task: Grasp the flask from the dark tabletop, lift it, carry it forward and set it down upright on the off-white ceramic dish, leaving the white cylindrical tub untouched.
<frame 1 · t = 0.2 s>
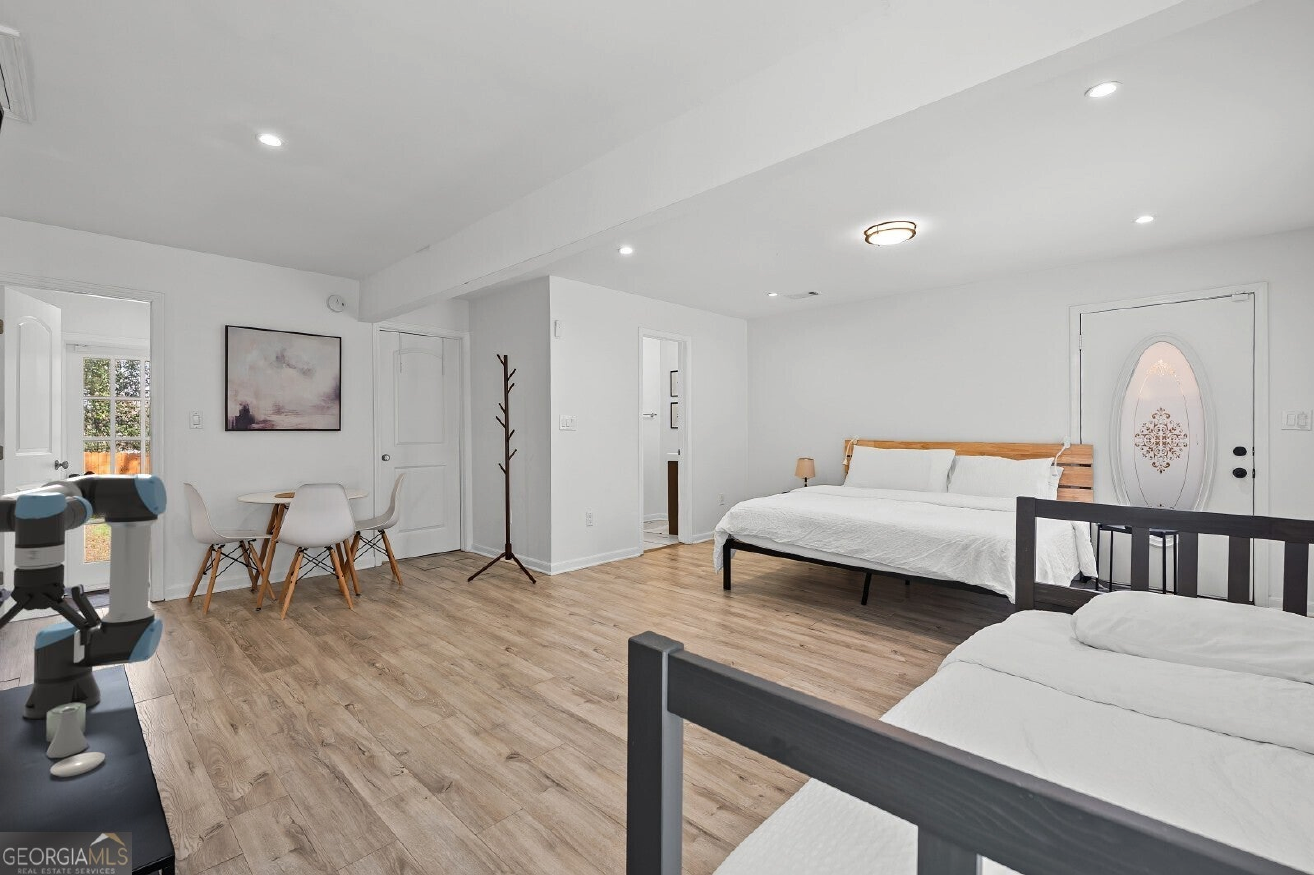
hand: (37, 664, 128), 27 cm above the table, fingers open, 13 cm apart
dish: (78, 767, 137), on the table
flask: (67, 752, 144), on the table
white cylindrical tub: (65, 735, 152), on the table
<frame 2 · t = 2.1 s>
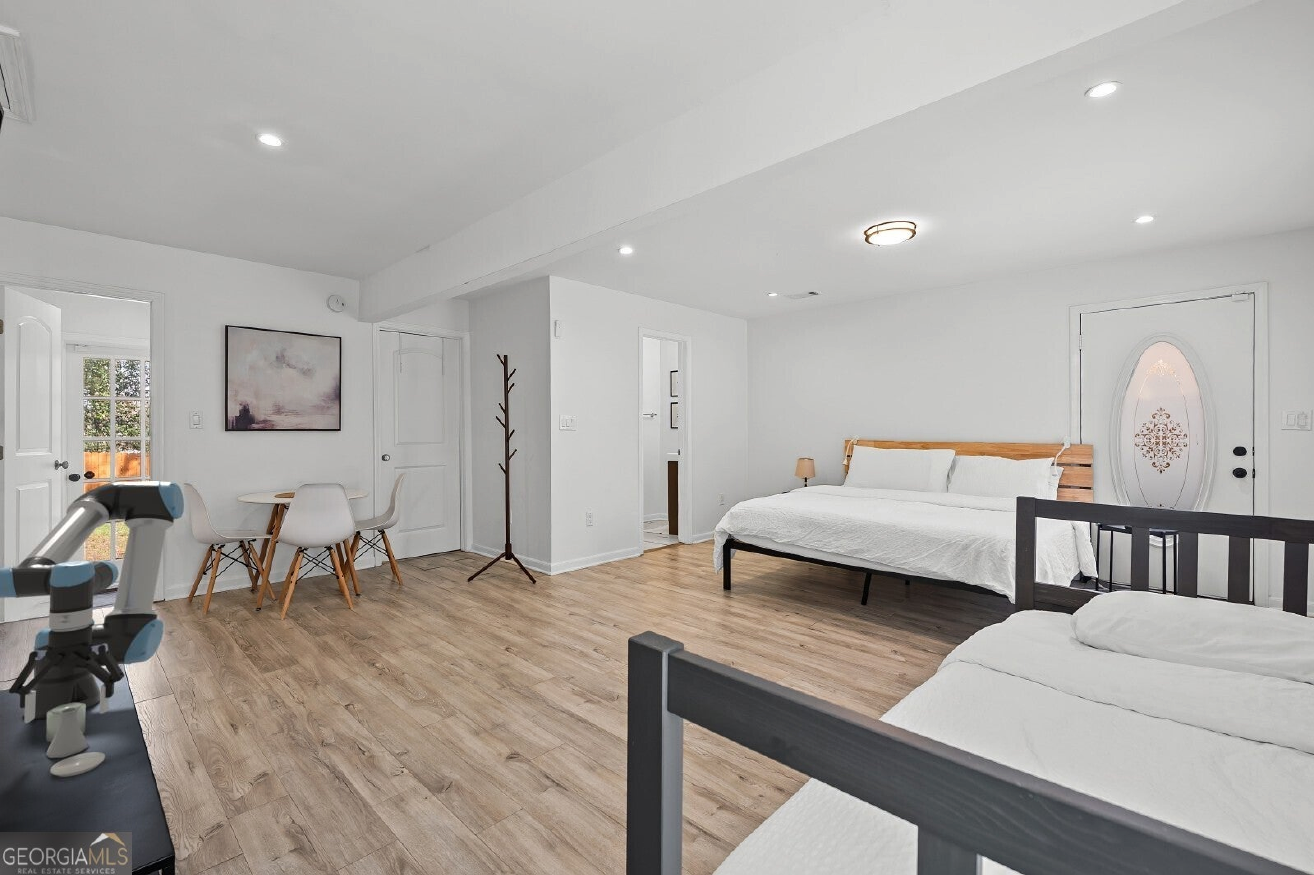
hand: (67, 716, 144), 9 cm above the table, fingers open, 13 cm apart
nothing on the table moved.
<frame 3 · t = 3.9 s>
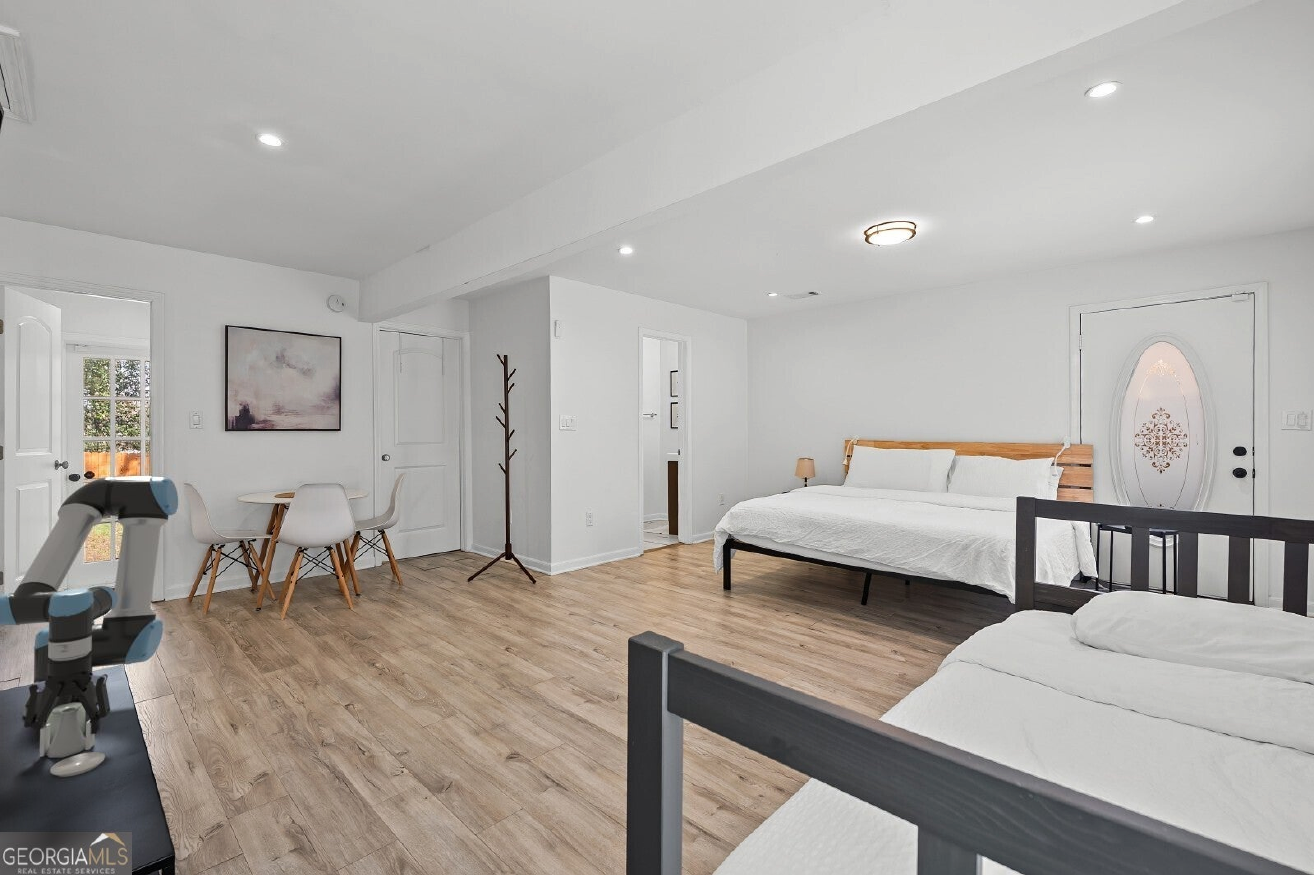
hand: (67, 750, 144), 0 cm above the table, fingers closed on flask, 8 cm apart
flask: (67, 752, 144), on the table, touching gripper
everything else where it was.
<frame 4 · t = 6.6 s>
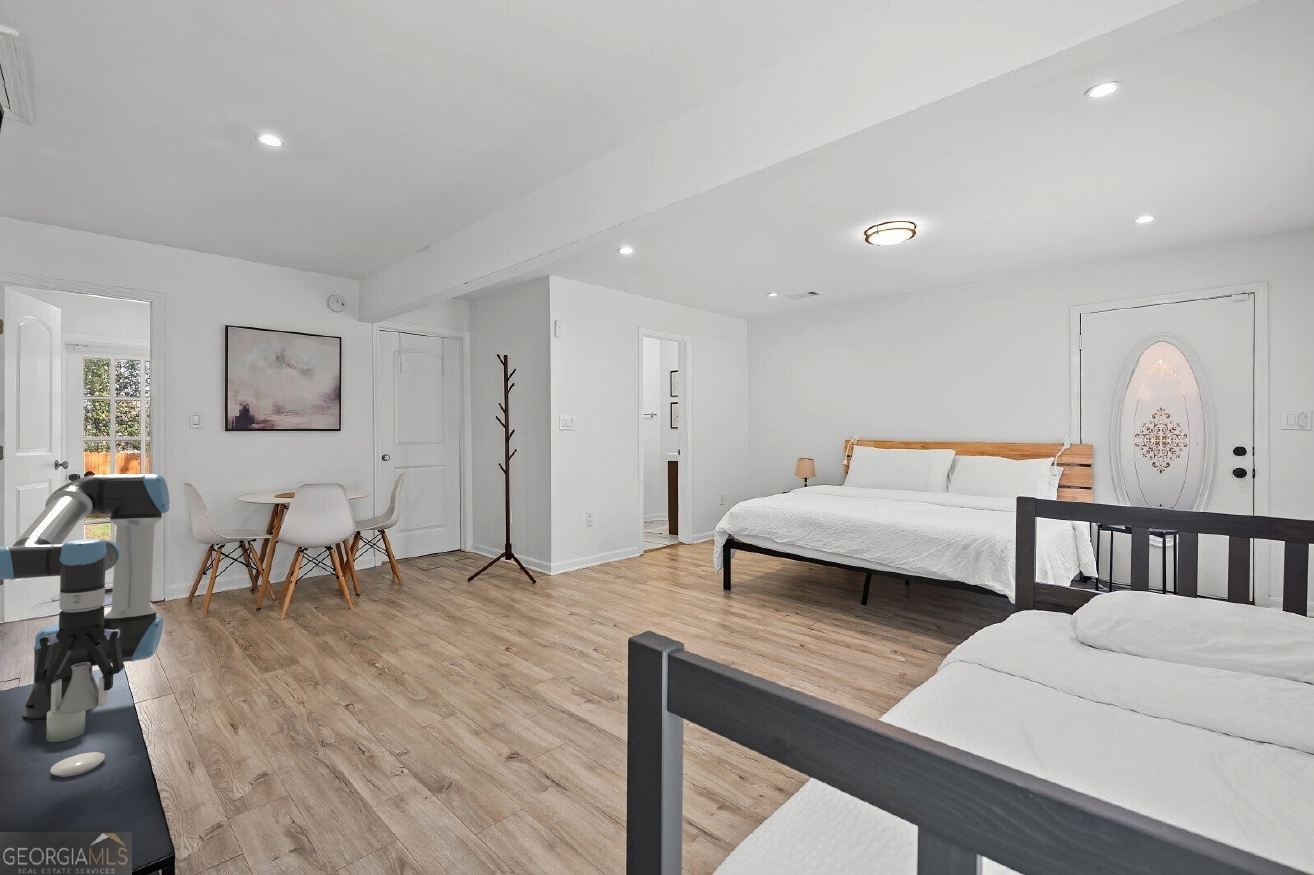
hand: (79, 707, 137), 14 cm above the table, fingers closed on flask, 7 cm apart
flask: (79, 709, 137), point 14 cm above the table, touching gripper
everything else where it was.
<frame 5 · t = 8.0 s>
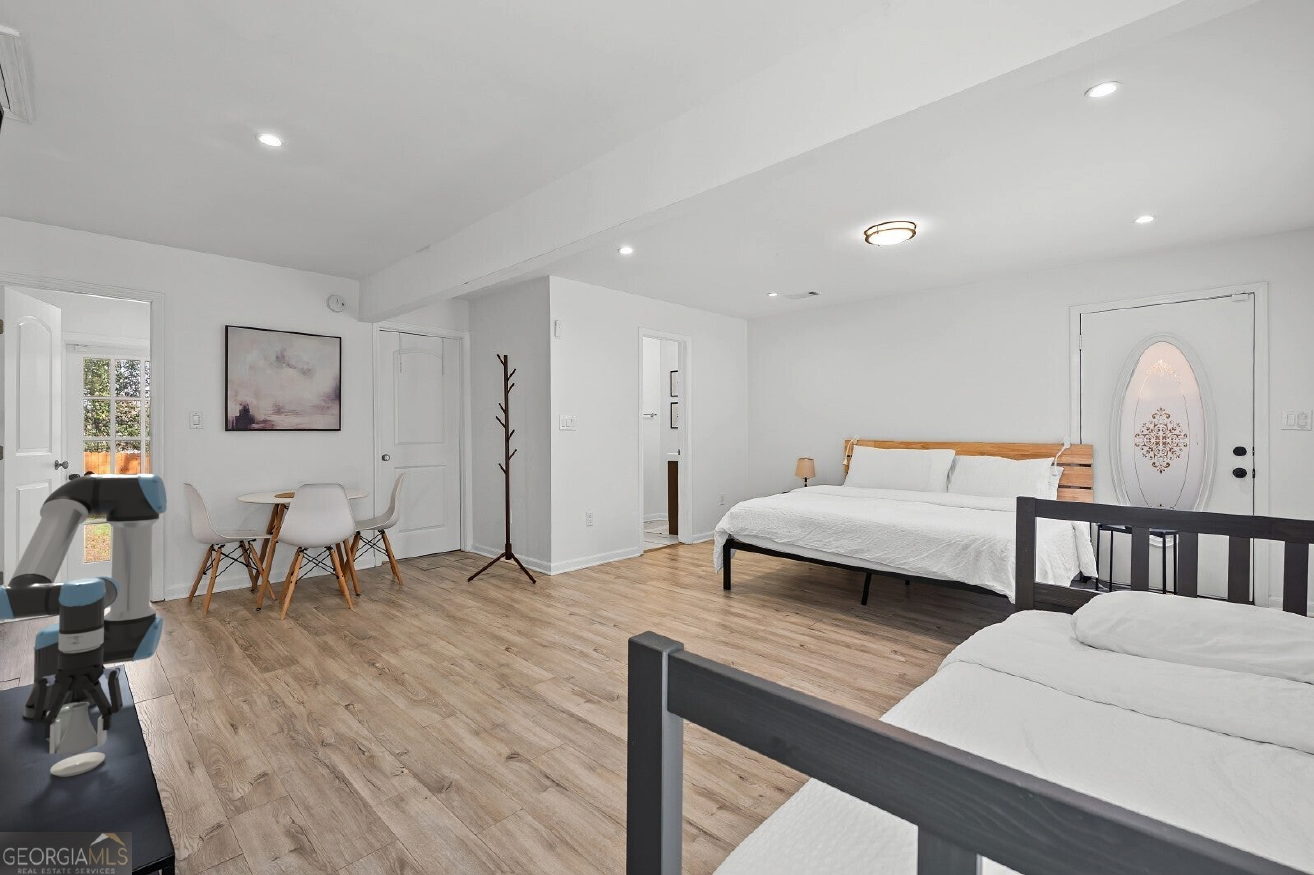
hand: (78, 747, 137), 5 cm above the table, fingers closed on flask, 7 cm apart
flask: (78, 749, 137), point 4 cm above the table, touching gripper
everything else where it was.
when the fingers open (3 cm above the table, at t = 9.3 s): flask drops 1 cm, resting on dish.
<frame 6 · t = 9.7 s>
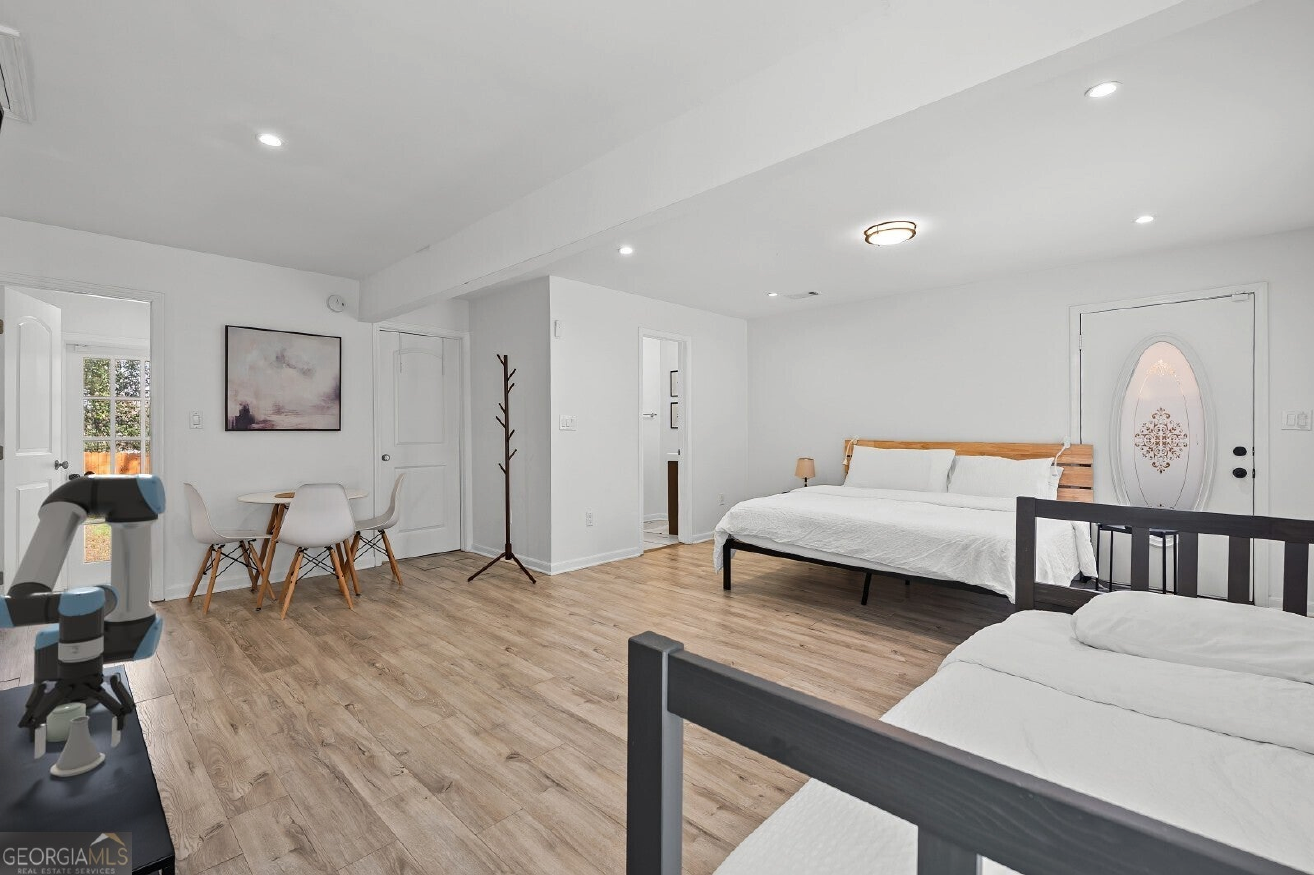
hand: (78, 750, 137), 4 cm above the table, fingers open, 13 cm apart
flask: (78, 763, 138), point 1 cm above the table, touching dish
everything else where it was.
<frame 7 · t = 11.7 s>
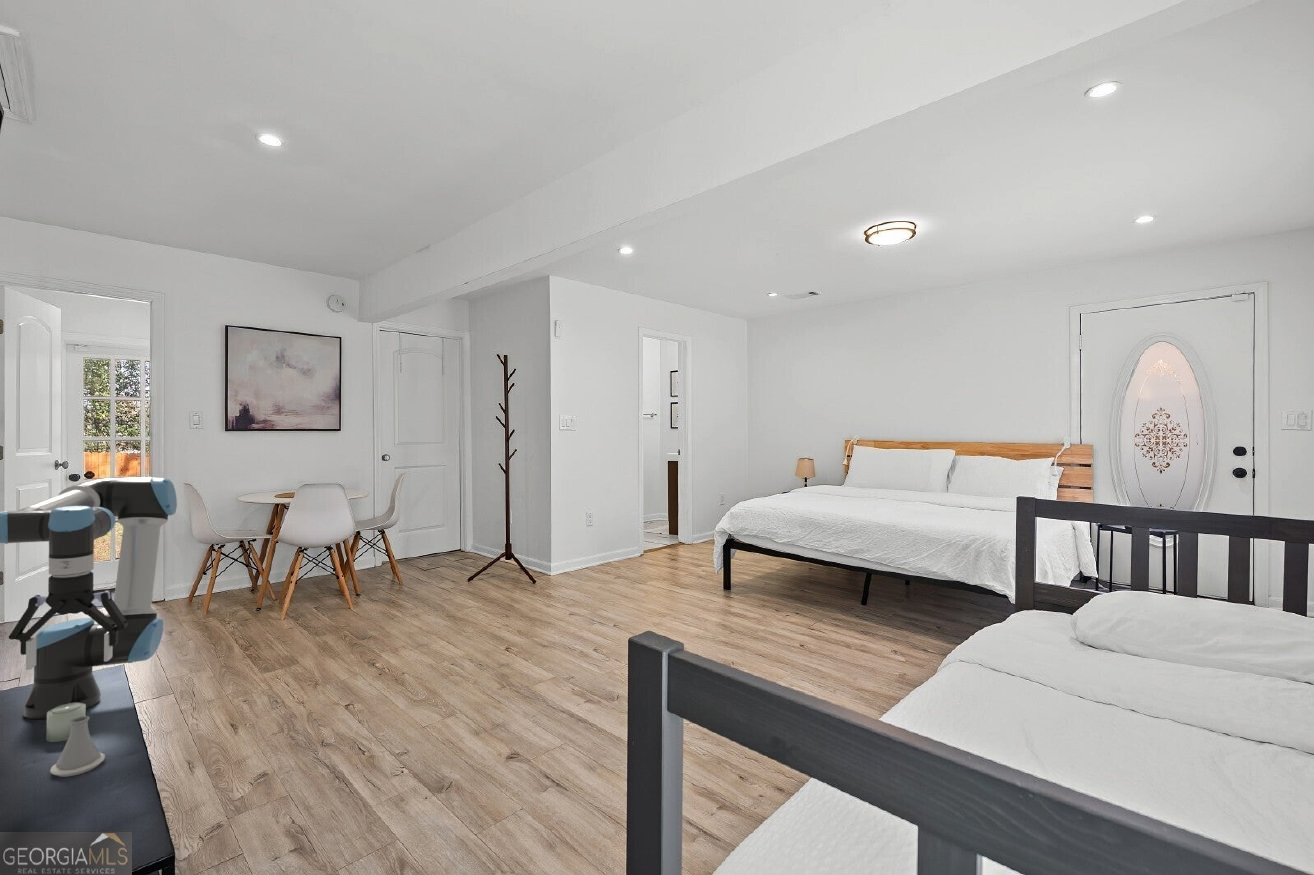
hand: (70, 663, 140), 23 cm above the table, fingers open, 13 cm apart
nothing on the table moved.
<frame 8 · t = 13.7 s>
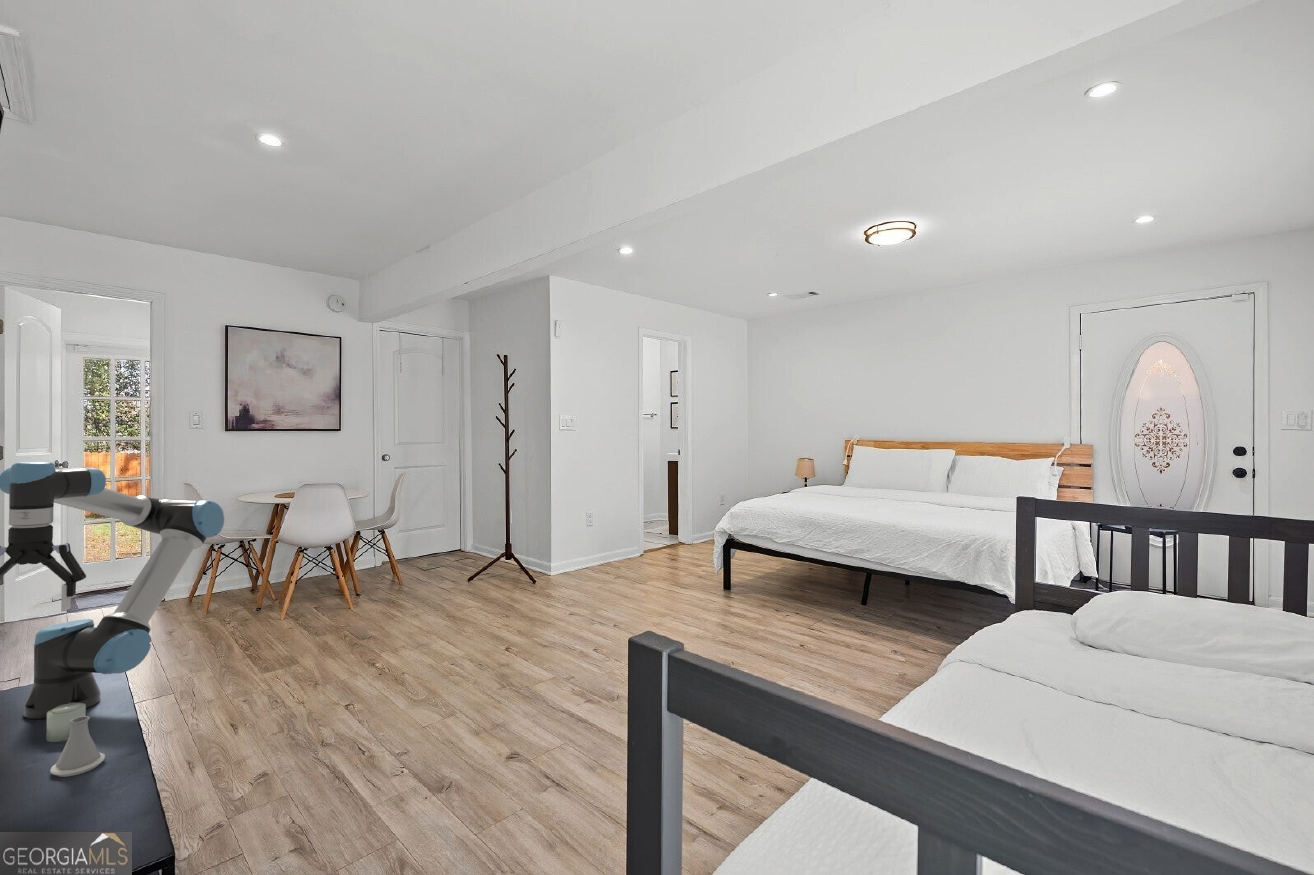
hand: (29, 612, 146), 33 cm above the table, fingers open, 13 cm apart
nothing on the table moved.
at the end: flask 0.1 cm from the dish (horizontally); flask point 1.0 cm above the table; flask tilted 0° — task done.
